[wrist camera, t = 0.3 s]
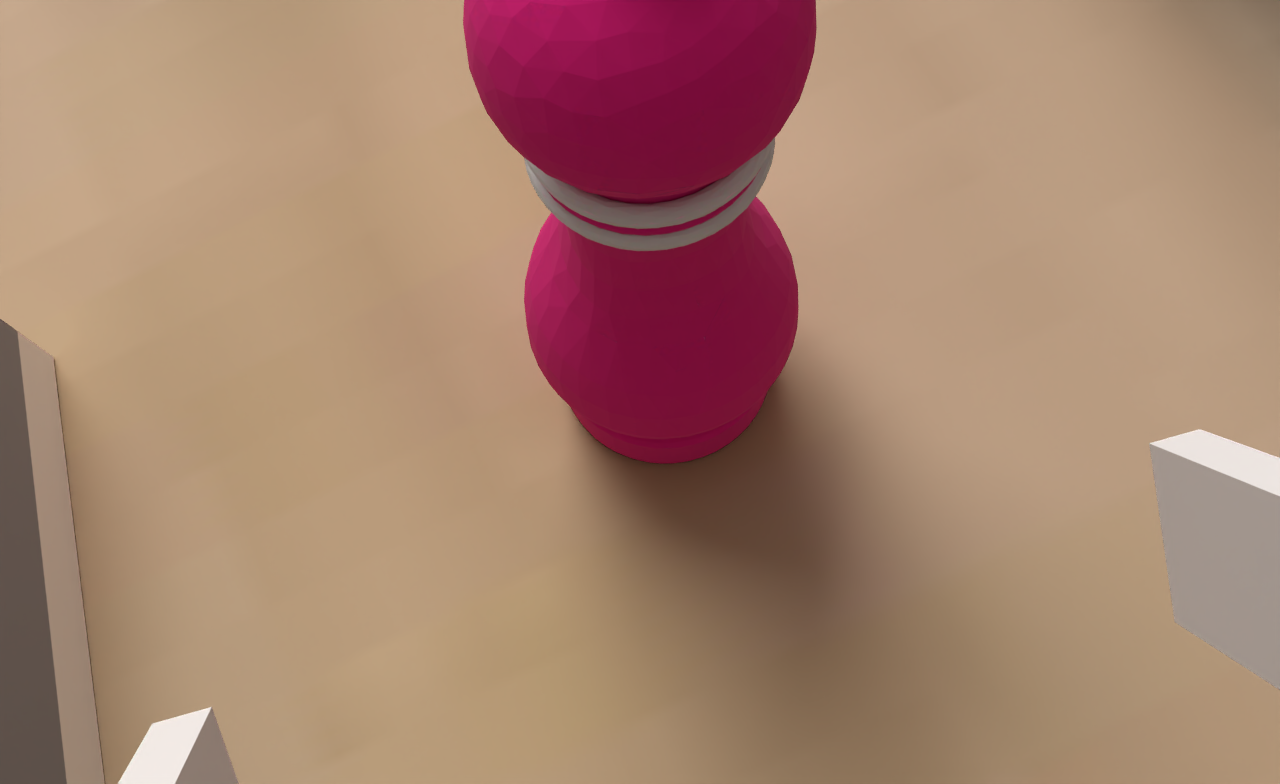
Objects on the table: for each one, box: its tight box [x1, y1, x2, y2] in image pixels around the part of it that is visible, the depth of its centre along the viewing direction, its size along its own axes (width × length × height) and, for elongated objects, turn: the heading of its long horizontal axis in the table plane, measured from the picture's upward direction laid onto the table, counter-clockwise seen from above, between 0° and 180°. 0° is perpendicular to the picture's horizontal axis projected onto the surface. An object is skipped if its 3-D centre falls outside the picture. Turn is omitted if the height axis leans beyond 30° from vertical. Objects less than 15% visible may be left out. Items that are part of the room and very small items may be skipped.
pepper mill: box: [463, 0, 816, 463], centre depth 25 cm, size 7×7×20 cm
